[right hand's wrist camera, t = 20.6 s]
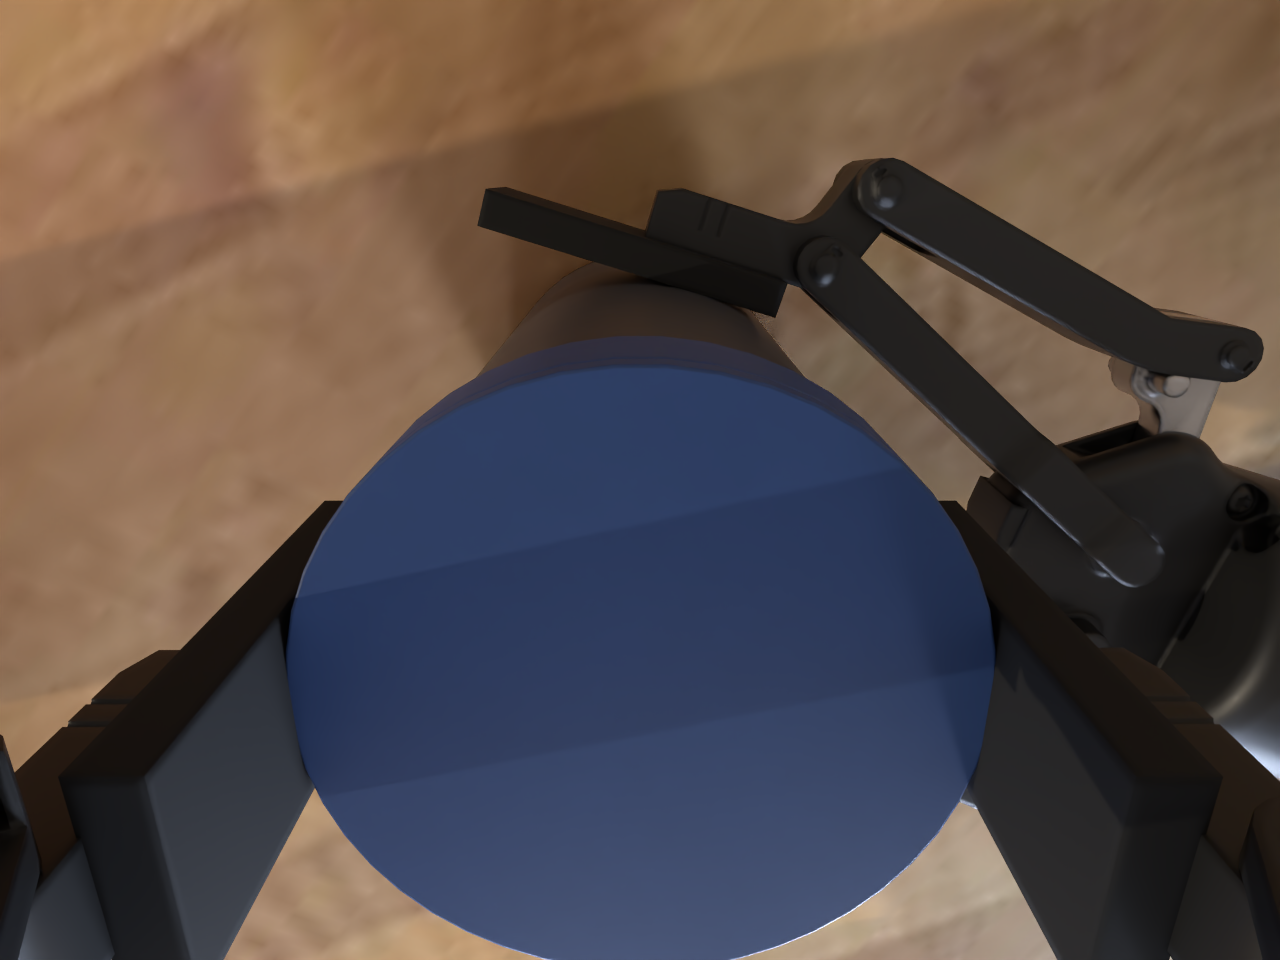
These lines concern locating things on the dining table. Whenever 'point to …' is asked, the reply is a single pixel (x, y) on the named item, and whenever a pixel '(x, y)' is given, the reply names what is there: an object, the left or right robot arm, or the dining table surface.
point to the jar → (633, 316)
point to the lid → (640, 656)
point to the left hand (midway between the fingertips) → (450, 395)
